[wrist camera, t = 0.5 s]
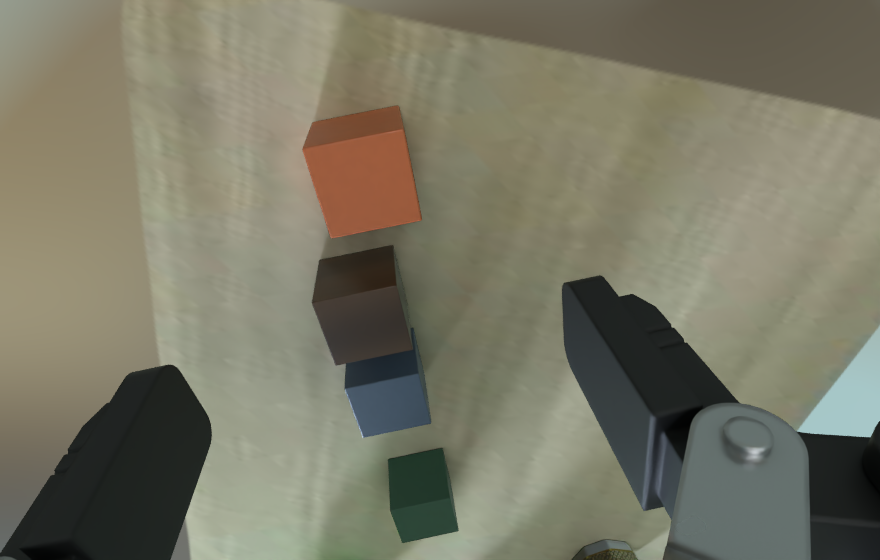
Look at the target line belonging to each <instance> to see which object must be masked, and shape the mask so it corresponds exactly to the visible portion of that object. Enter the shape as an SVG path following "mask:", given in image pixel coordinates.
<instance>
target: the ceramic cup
mask: <svg viewBox="0 0 880 560" xmlns="http://www.w3.org/2000/svg"><path fill="white" fill-rule="evenodd" d="M572 560H638V559H637V557H636V556H635V554H634V553H633V551H632V550H631V548H630V547H629V545H628V544H627V543H625V542H621V541H613V540H603V541H600V542H597V543H594V544H591V545H588V546H585V547H584V548H583V549H582V550H581V551H580V552H579V553H578V554H577V555H576V556H575V557H574V558H573V559H572Z"/></svg>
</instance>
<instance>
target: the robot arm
mask: <svg viewBox="0 0 880 560" xmlns="http://www.w3.org/2000/svg"><path fill="white" fill-rule="evenodd" d="M562 304H563V329H564V345H565V351H566V355H567V359H568V362H569V365H570V367H571V370H572V372H573V374H574V376H575V378H576V379H577V381H578V383H579V385H580V387H581V389H582V391H583V393H584V395H585V397H586V399H587V401H588V403H589V405H590V407H591V409H592V411H593V413H594V415H595V417H596V419H597V421H598V422H599V424H600V426H601V428H602V430H603V432H604V434H605V436H606V438H607V440H608V442H609V444H610V446H611V448H612V450H613V452H614V454H615V456H616V458H617V460H618V462H619V464H620V465H621V467H622V469H623V471H624V473H625V475H626V477H627V479H628V481H629V483H630V485H631V487H632V489H633V491H634V493H635V495H636V497H637V499H638V501H639V503H640V505H641V507H642V509H643V510H644V511H646V510H651V509H655V508H660V507H665V509H666V511H667V513H668V515H669V516H670V518H671V520H672V522H671V527H670V532H669V537H668V542H667V546H666V548H665V552H664V556H663V560H880V421H879V423H878V424H877V426H876V427H875V430H874V432H873V434H872V436H871V438H870V437H853V436H838V435H822V434H810V433H801V432H797V431H795V430H794V429H793V428H792V427H791V426H790V425H789V424H788V423H786V422H785V421H783V420H782V419H781V418H779V417H778V416H776V415H774V414H772V413H770V412H768V411H766V410H763V409H761V408H758V407H754V406H751V405H746V404H741V403H739V402H738V401H737V400H736V399H735V397H734V396H733V395H732V394H731V393H730V392H729V391H728V389H727V388H726V387H725V386H724V385H723V384H722V382H721V381H720V380H719V379H718V378H717V377H716V376H715V374H714V373H713V372H712V371H711V370H710V369H709V367H708V366H707V365H706V364H705V363H704V362H703V361H702V359H701V358H700V357H699V356H698V355H697V354H696V353H695V351H694V350H693V349H692V348H691V347H690V346H689V344H688V343H685V342H684V339H683V338H682V336H681V335H680V334H679V333H678V332H677V331H676V329H675V328H672V327H671V324H670V323H669V321H668V320H667V319H666V318H665V317H664V316H663V315H662V313H661V312H660V311H659V310H658V309H657V308H656V307H655V306H654V305H652V304H650V303H648V302H646V301H644V300H643V299H641V298H639V297H637V296H635V295H634V294H630V295H625V296H621V297H619V296H618V295H617V294H616V292H615V291H614V290H613V289H612V287H611V286H610V285H609V283H608V282H607V281H606V280H605V278H604V277H602V276H600V275H599V276H594V277H590V278H585V279H580V280H575V281H571V282H566V283H564V284H563V287H562ZM211 437H212V431H211V424H210V420H209V417H208V415H207V413H206V412H205V410H204V409H203V407H202V405H201V404H200V402H199V401H198V399H197V397H196V396H195V394H194V393H193V391H192V389H191V388H190V386H189V385H188V383H187V381H186V380H185V378H184V377H183V375H182V373H181V372H180V371H179V369H178V368H177V367H175V366H173V365H165V366H160V367H155V368H151V369H146V370H141V371H136V372H132V373H130V374H128V375H127V376H126V377H125V379H124V380H123V382H122V383H121V385H120V386H119V388H118V390H117V392H116V393H115V395H114V396H113V398H112V399H111V401H110V403H107V404H106V405H104V406H103V407H102V408H101V409H100V410H99V411H98V412H97V413H96V414H95V415H94V416H93V417H92V418H91V419H90V420H89V421H88V422H87V423H86V424H85V425H84V426H83V427H82V428H81V430H80V432H79V433H78V435H77V436H76V438H75V439H74V441H73V442H72V444H71V445H70V447H69V448H68V454H66V455H64V456H63V458H62V459H61V461H60V462H59V464H58V465H57V467H56V469H55V470H54V471H55V475H52V476H50V478H49V479H48V481H47V482H46V484H45V485H44V487H43V488H42V490H41V491H40V494H39V495H38V496H37V498H36V499H35V501H34V502H33V504H32V506H31V507H30V508H29V510H28V512H27V513H26V515H25V516H24V518H23V519H22V521H21V522H20V524H19V526H18V527H17V528H16V530H15V532H14V533H13V535H12V536H11V538H10V539H9V541H8V542H7V544H6V545H5V547H4V548H3V550H2V552H1V553H0V560H170V559H171V556H172V553H173V550H174V547H175V545H176V542H177V539H178V536H179V533H180V530H181V528H182V525H183V522H184V519H185V516H186V513H187V510H188V508H189V505H190V502H191V499H192V496H193V493H194V490H195V488H196V485H197V482H198V479H199V476H200V473H201V470H202V467H203V465H204V462H205V459H206V456H207V453H208V450H209V447H210V444H211Z"/></svg>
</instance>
